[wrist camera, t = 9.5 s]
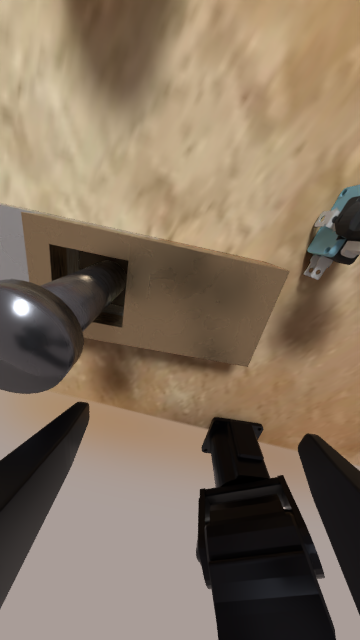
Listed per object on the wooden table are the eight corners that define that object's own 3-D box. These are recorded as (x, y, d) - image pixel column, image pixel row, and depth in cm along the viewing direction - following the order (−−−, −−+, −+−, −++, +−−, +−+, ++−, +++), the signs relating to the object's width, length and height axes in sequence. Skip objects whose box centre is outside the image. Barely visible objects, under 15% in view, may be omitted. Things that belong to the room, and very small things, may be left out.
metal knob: (132, 305, 18) (70, 401, 8) (84, 296, 18) (-43, 384, 8) (137, 257, 16) (66, 302, 6) (84, 246, 16) (-82, 274, 6)
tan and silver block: (235, 341, 20) (247, 366, 16) (-38, 290, 18) (-95, 306, 14) (265, 262, 17) (289, 271, 13) (-66, 188, 14) (-149, 174, 11)
